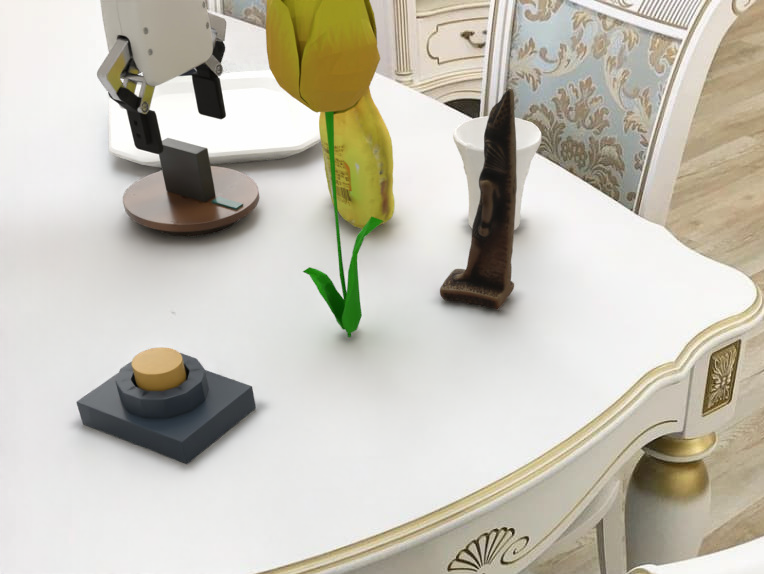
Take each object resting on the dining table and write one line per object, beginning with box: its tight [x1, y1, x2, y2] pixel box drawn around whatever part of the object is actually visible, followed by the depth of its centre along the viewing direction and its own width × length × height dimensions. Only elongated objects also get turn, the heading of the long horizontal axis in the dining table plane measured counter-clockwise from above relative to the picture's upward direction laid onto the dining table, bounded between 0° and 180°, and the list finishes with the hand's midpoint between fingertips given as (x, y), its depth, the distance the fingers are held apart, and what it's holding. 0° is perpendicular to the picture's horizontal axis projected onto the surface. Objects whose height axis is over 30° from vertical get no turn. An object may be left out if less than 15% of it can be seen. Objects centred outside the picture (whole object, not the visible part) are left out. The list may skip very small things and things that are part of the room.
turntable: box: [122, 138, 260, 232], centre depth 115 cm, size 14×14×6 cm
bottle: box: [319, 87, 395, 230], centre depth 112 cm, size 12×6×20 cm, turn 25°
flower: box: [265, 0, 383, 338], centre depth 91 cm, size 9×8×30 cm
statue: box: [439, 88, 517, 310], centre depth 100 cm, size 4×7×20 cm, turn 71°
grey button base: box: [76, 352, 257, 465], centre depth 91 cm, size 11×9×4 cm
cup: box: [452, 115, 542, 231], centre depth 114 cm, size 9×9×10 cm
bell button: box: [131, 346, 186, 391], centre depth 90 cm, size 4×4×2 cm
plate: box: [108, 69, 321, 169], centre depth 133 cm, size 25×25×2 cm
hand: (182, 132), depth 112 cm, fingers open, 9 cm apart
